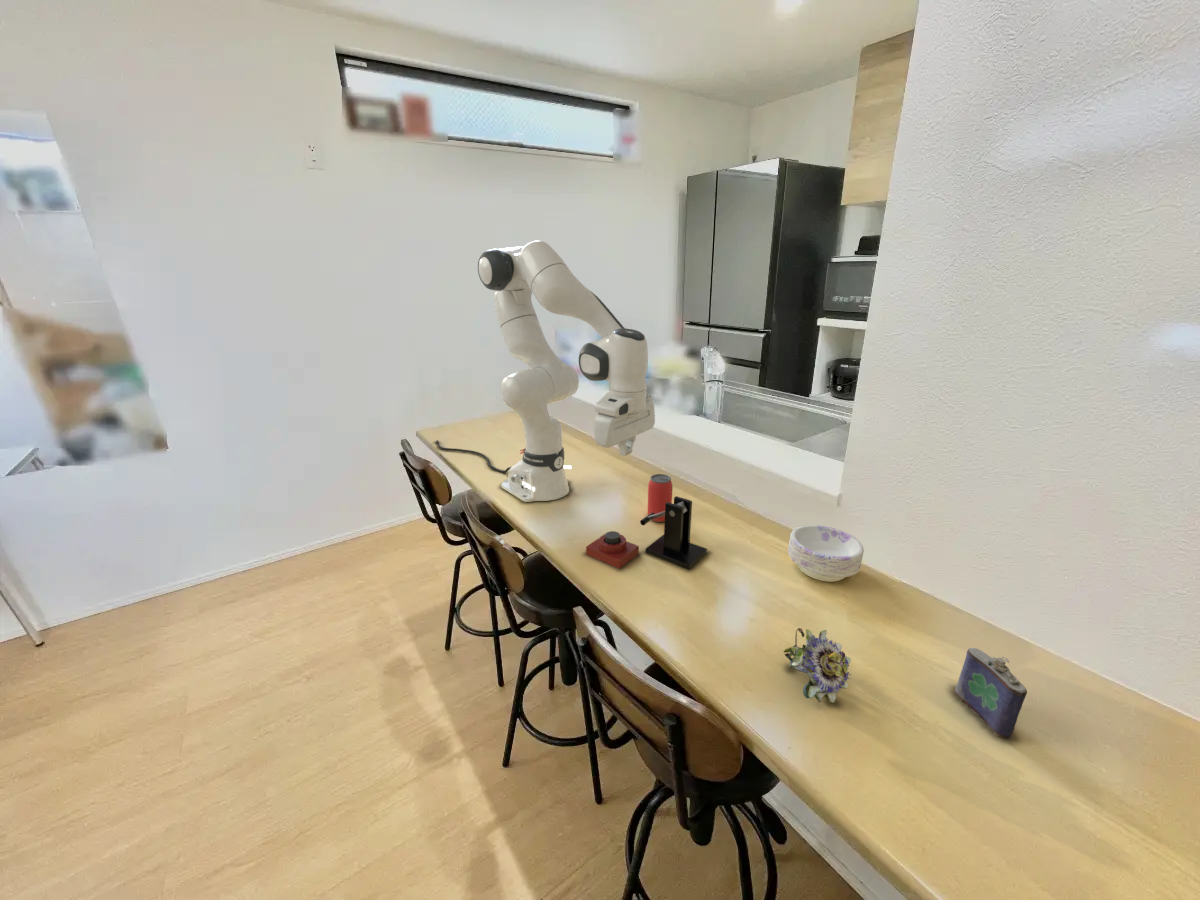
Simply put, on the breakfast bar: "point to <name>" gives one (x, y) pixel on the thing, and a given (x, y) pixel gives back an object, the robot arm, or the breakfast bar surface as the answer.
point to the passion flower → (820, 665)
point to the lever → (659, 514)
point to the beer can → (659, 494)
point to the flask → (991, 691)
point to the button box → (612, 551)
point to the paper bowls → (825, 552)
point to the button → (612, 537)
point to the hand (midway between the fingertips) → (625, 454)
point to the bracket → (677, 537)
